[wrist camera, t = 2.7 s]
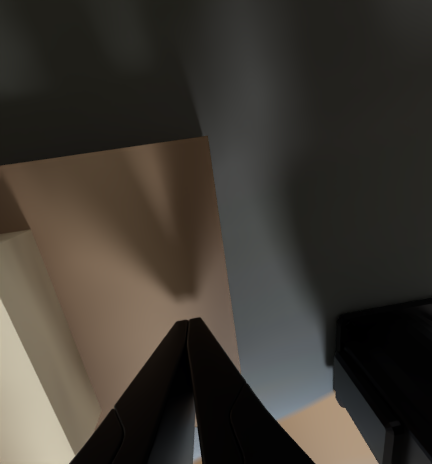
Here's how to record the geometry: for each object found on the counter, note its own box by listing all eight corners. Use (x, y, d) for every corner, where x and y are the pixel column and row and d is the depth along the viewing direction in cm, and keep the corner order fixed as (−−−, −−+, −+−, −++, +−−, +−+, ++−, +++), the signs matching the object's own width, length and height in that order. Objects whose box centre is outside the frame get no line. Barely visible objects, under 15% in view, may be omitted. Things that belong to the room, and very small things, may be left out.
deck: (203, 140, 10) (207, 135, 8) (236, 363, 14) (247, 417, 11) (-120, 187, 10) (-248, 201, 7) (2, 406, 14) (-49, 474, 11)
